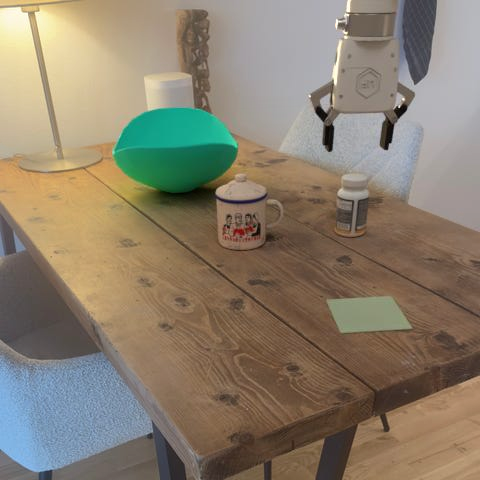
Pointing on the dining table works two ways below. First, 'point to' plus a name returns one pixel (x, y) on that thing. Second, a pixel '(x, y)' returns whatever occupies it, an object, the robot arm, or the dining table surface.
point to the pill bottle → (352, 205)
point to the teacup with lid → (243, 214)
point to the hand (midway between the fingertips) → (356, 149)
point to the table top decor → (175, 149)
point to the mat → (367, 314)
